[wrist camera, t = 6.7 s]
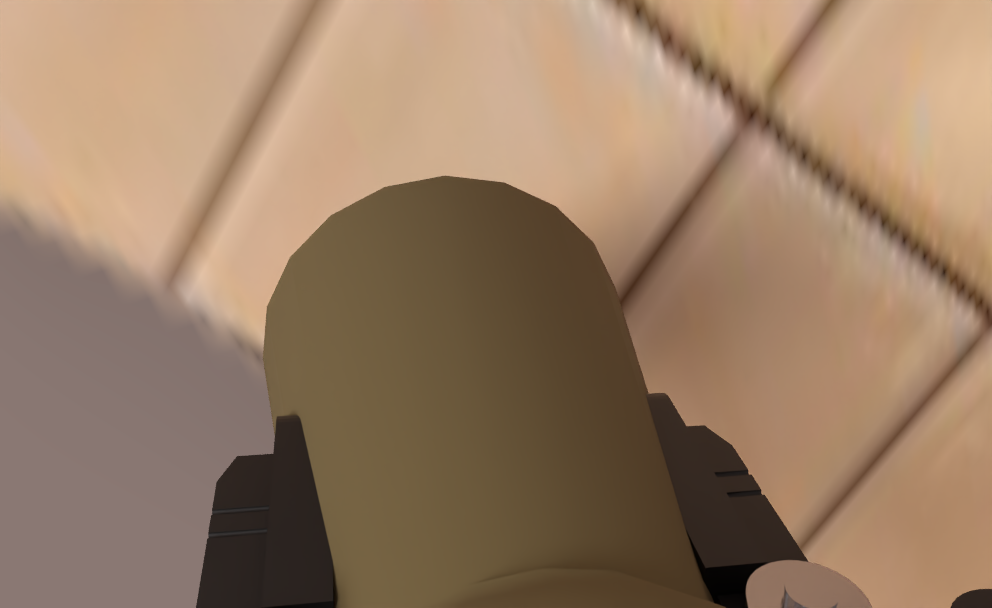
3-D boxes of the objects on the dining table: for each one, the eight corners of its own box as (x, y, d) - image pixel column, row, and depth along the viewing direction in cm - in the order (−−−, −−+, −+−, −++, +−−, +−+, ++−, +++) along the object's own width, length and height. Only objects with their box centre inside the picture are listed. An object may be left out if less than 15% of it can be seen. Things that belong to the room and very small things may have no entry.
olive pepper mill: (199, 251, 15) (-50, 1093, 5) (570, 122, 15) (1051, 704, 5) (342, 535, 17) (364, 1420, 8) (653, 426, 18) (1061, 1173, 8)
